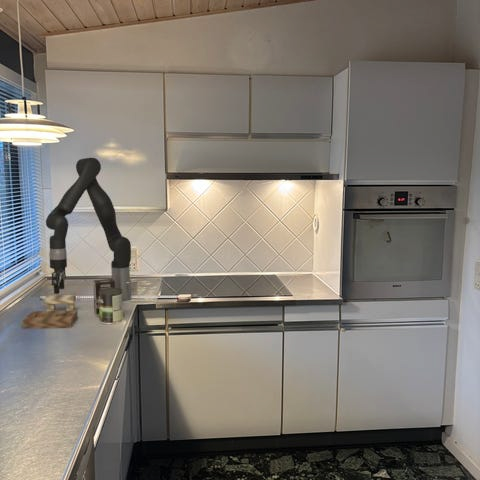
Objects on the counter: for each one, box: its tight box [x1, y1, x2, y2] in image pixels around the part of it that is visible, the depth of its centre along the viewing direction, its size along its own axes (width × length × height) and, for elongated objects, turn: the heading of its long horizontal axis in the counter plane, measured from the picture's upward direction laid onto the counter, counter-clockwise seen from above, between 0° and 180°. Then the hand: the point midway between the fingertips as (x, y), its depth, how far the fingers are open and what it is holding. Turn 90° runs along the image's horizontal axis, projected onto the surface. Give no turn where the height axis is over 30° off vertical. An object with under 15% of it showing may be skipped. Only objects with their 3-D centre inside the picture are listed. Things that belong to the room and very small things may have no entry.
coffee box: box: [92, 278, 115, 317], centre depth 227 cm, size 9×6×16 cm
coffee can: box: [99, 288, 124, 325], centre depth 217 cm, size 10×10×14 cm
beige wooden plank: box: [44, 294, 77, 311], centre depth 228 cm, size 13×4×8 cm, turn 95°
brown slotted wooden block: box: [22, 310, 79, 330], centre depth 213 cm, size 20×12×4 cm, turn 95°
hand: (59, 291), depth 227 cm, fingers open, 8 cm apart
